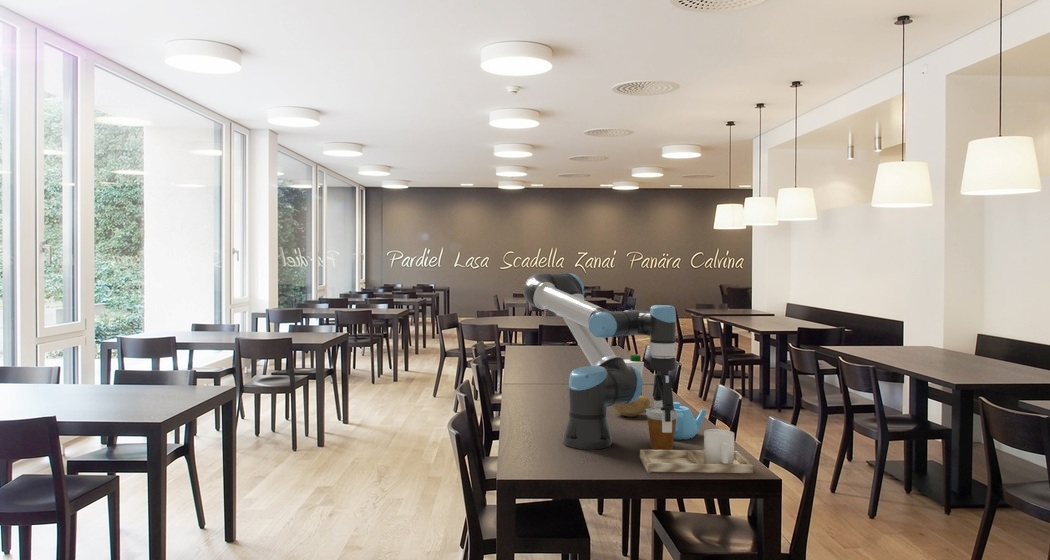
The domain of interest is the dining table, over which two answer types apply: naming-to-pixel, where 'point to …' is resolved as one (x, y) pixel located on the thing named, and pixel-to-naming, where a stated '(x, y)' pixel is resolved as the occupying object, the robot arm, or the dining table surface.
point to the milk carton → (635, 363)
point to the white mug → (718, 446)
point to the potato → (633, 407)
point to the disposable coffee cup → (660, 429)
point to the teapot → (686, 422)
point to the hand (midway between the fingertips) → (662, 426)
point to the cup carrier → (690, 462)
